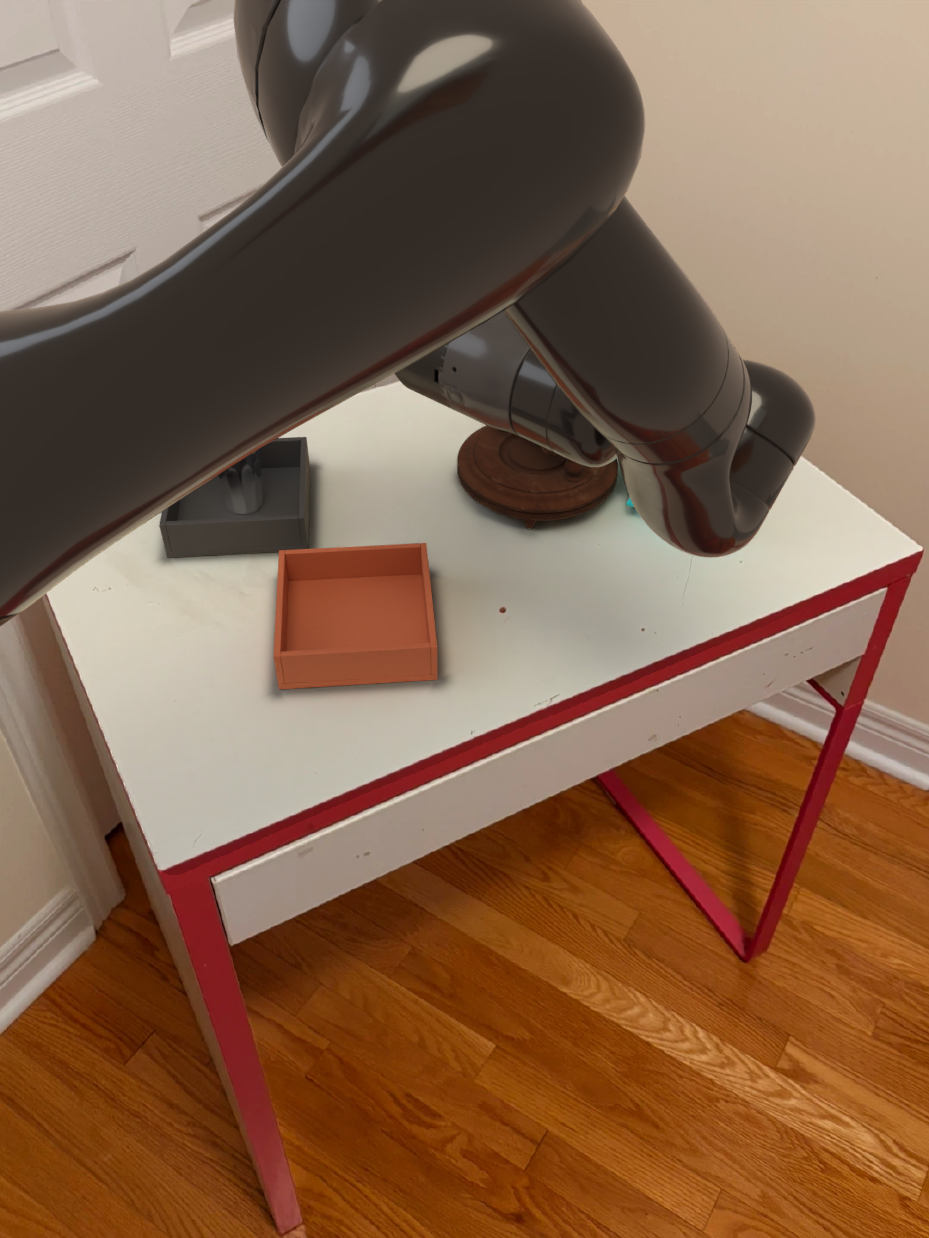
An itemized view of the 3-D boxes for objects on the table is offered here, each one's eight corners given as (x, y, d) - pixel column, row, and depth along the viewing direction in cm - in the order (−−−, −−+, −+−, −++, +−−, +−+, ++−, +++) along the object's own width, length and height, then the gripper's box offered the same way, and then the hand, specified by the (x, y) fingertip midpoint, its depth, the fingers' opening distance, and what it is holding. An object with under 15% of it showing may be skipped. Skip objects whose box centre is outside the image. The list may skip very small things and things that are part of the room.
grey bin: (167, 558, 90) (159, 525, 87) (181, 474, 98) (174, 442, 96) (308, 550, 91) (304, 518, 88) (310, 468, 99) (306, 436, 97)
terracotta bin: (278, 689, 79) (273, 656, 76) (283, 582, 88) (278, 550, 85) (437, 679, 80) (437, 646, 77) (427, 575, 88) (426, 542, 86)
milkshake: (204, 517, 93) (184, 421, 86) (235, 483, 96) (219, 389, 89) (249, 530, 91) (233, 434, 85) (279, 495, 95) (266, 400, 88)
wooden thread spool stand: (648, 493, 97) (681, 291, 83) (525, 555, 90) (539, 347, 76) (544, 421, 105) (559, 226, 91) (425, 473, 99) (421, 272, 85)
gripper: (558, 257, 65) (369, 188, 73) (405, 346, 57) (210, 258, 65) (550, 364, 71) (374, 289, 78) (409, 458, 63) (227, 366, 70)
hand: (300, 275), depth 71 cm, fingers open, 8 cm apart
